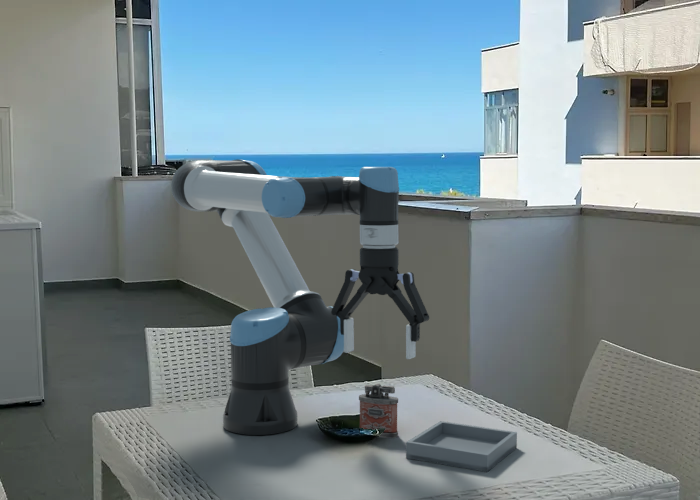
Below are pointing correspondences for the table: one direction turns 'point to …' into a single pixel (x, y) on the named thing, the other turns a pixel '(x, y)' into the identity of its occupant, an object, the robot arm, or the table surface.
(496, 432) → the tray
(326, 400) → the table surface
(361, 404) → the lighter
